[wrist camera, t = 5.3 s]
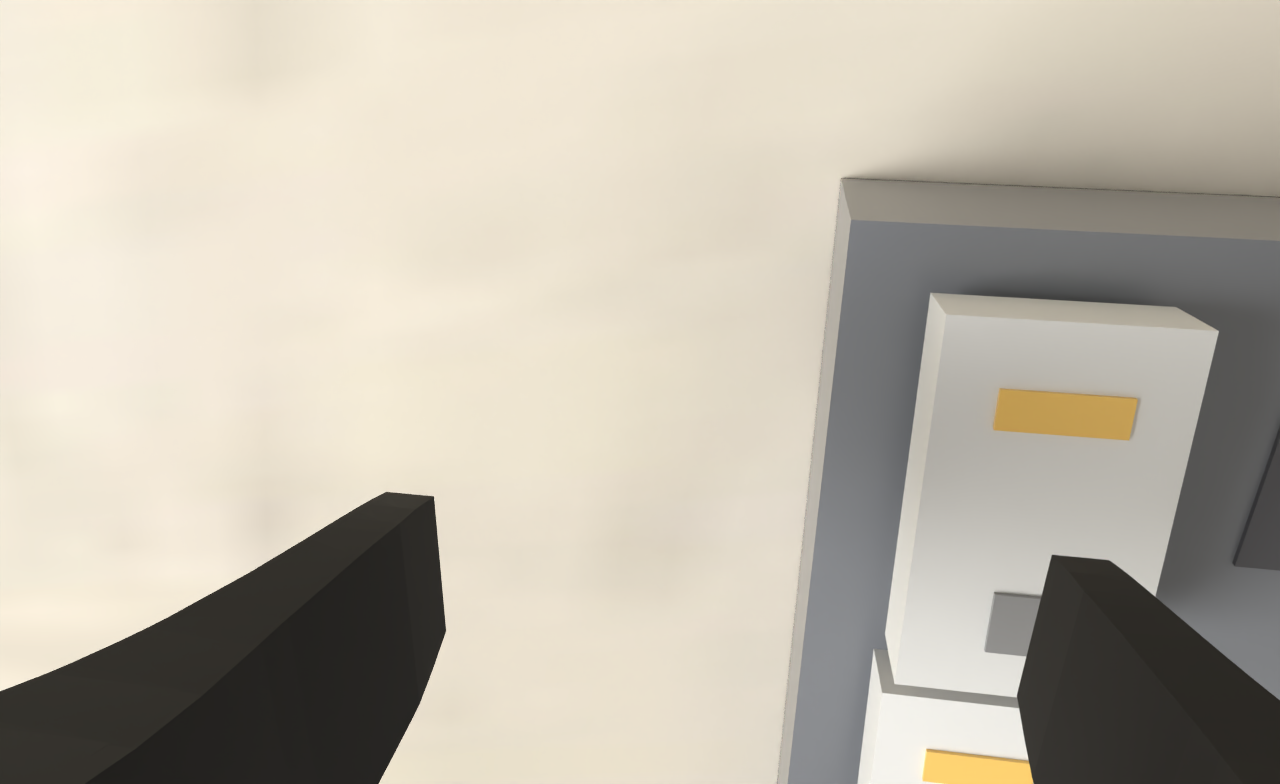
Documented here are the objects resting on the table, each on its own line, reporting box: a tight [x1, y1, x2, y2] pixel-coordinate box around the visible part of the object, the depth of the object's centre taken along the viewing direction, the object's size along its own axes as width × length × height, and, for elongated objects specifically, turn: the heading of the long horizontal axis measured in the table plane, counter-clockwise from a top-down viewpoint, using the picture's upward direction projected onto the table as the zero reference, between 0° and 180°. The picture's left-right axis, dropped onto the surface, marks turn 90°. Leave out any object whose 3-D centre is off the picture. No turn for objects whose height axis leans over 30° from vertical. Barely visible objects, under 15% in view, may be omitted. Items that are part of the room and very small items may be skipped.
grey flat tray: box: [777, 178, 1280, 784], centre depth 20 cm, size 22×10×3 cm, turn 179°
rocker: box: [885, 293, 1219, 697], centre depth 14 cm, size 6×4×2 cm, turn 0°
